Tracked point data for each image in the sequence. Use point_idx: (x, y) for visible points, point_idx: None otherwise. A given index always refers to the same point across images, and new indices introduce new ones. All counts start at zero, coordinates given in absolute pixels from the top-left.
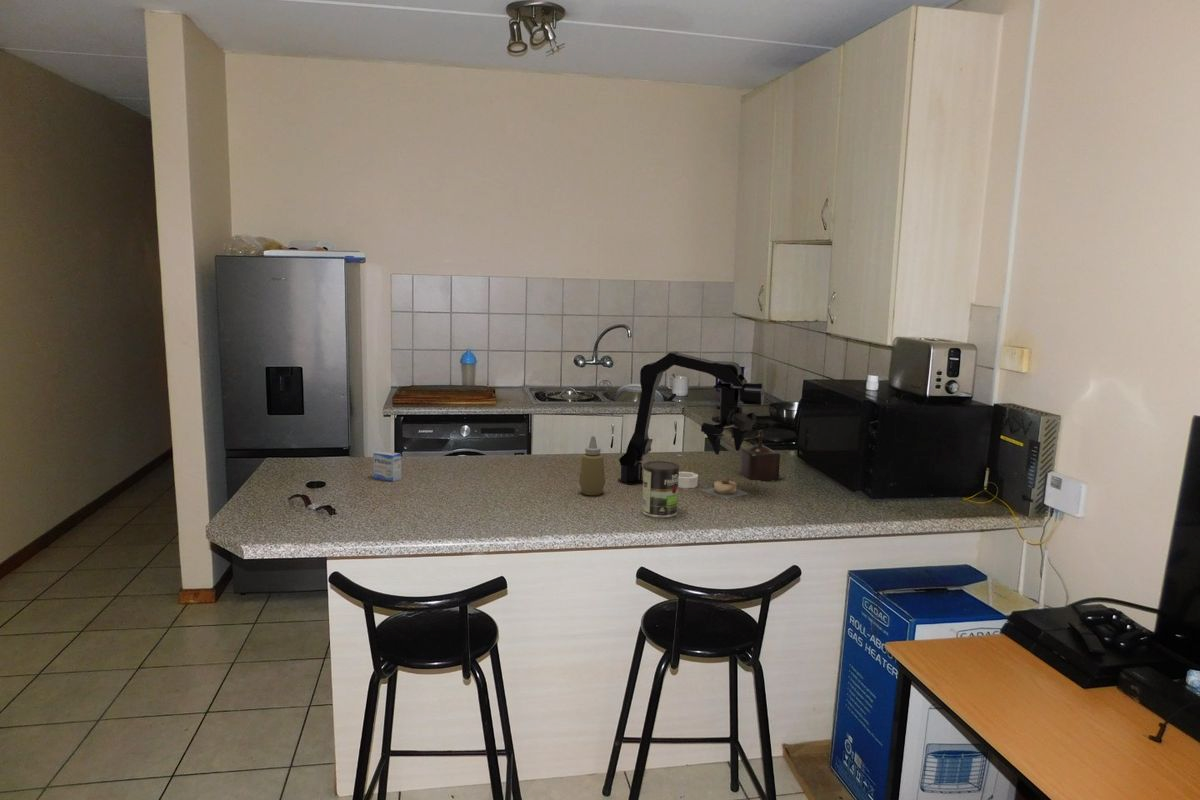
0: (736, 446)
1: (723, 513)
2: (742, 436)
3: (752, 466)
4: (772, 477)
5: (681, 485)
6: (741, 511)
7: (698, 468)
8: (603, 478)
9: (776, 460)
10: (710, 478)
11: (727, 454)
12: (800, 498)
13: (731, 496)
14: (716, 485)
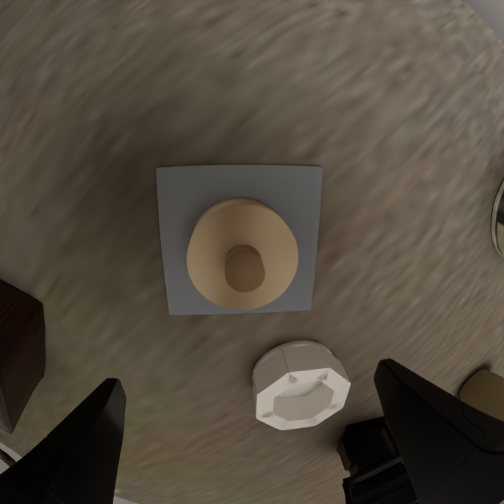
0: (117, 420)
1: (429, 78)
2: (45, 479)
3: (13, 335)
4: None
5: (338, 361)
6: (367, 42)
7: (125, 448)
8: (494, 391)
9: None
10: (148, 394)
11: (21, 448)
12: (31, 51)
13: (270, 178)
14: (295, 267)
